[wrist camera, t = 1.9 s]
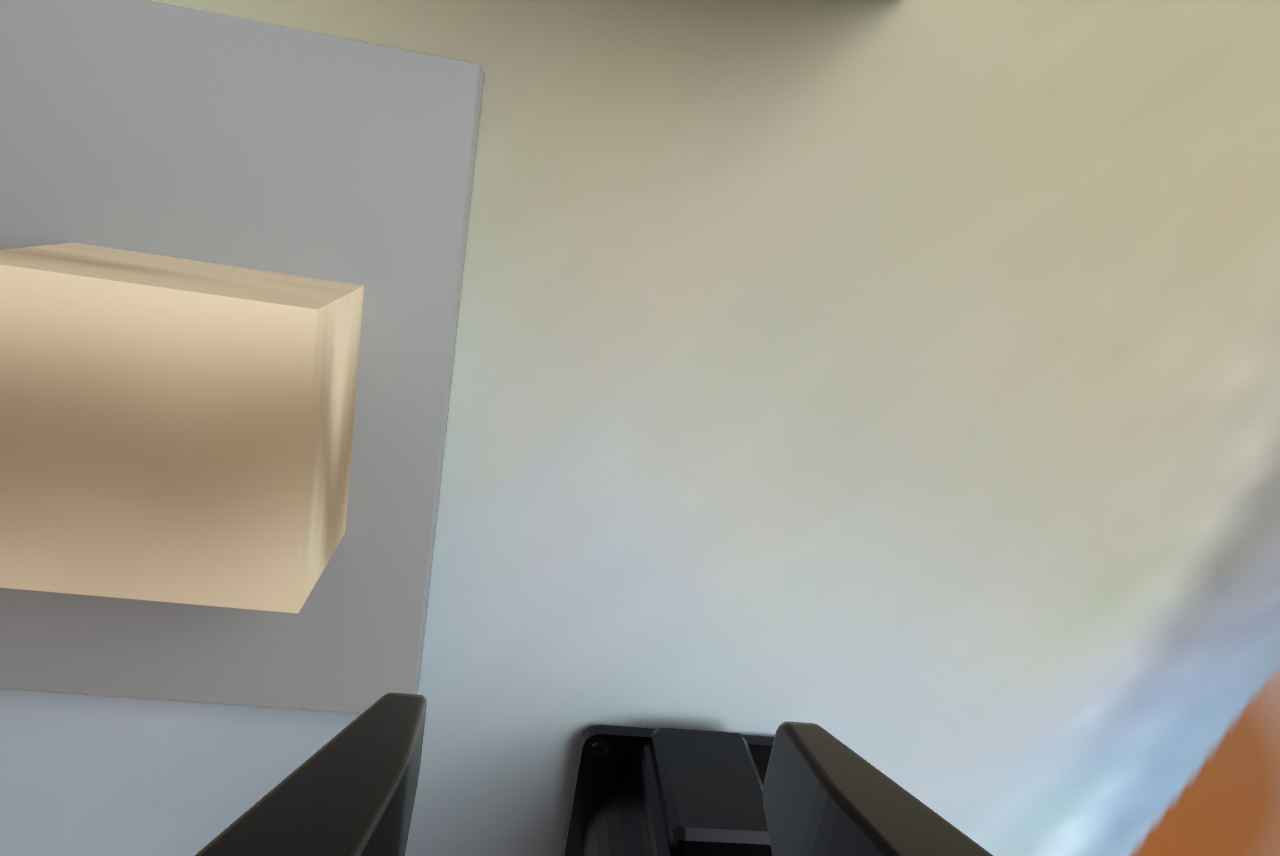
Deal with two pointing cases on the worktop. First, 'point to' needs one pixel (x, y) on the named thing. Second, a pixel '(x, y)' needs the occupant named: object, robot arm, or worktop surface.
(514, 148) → the worktop surface
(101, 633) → the trap runway
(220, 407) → the maple block
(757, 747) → the robot arm
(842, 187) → the worktop surface
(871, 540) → the worktop surface
